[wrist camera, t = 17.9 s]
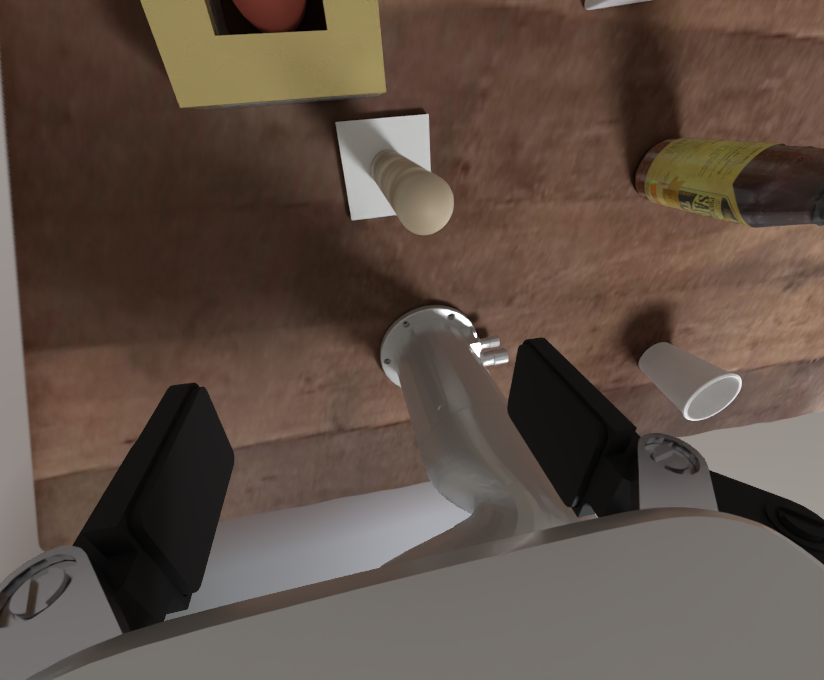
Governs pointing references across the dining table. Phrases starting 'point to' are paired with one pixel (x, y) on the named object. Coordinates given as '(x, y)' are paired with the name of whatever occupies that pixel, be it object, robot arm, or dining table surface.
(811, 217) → the sauce bottle
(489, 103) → the dining table surface
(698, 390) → the dixie cup
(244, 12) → the button
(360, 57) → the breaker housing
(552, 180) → the dining table surface
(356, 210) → the pad
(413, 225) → the beige cylinder rod
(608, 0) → the medicine bottle
